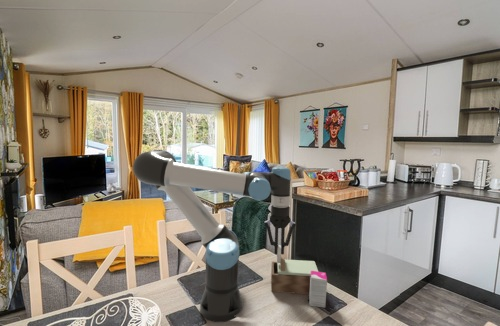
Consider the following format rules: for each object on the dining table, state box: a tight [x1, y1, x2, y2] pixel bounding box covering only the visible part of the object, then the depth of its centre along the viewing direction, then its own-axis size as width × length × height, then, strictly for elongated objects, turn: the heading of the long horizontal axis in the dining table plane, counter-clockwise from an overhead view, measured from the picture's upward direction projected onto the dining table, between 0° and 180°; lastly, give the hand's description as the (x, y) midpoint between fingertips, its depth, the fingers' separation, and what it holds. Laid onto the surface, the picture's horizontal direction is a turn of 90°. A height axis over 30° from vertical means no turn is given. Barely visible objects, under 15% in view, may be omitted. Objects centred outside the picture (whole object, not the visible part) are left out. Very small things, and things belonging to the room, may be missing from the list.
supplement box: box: [308, 271, 328, 308], centre depth 96 cm, size 6×6×12 cm
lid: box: [277, 253, 319, 276], centre depth 106 cm, size 16×11×4 cm
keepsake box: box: [270, 261, 310, 295], centre depth 107 cm, size 16×11×8 cm
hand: (278, 261), depth 107 cm, fingers closed
